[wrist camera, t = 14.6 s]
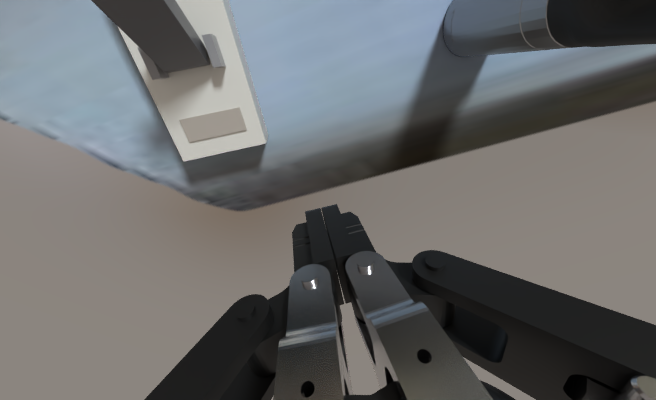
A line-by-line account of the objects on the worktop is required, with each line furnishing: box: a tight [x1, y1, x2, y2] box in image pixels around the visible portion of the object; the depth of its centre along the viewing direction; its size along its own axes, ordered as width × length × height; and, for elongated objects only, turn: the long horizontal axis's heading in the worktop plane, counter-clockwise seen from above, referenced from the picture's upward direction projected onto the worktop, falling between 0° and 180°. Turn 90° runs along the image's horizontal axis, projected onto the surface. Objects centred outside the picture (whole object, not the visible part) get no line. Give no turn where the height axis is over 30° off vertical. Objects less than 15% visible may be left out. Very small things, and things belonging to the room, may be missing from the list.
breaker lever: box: [92, 0, 210, 73], centre depth 23 cm, size 5×3×13 cm
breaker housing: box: [118, 0, 268, 161], centre depth 31 cm, size 12×24×8 cm, turn 11°
